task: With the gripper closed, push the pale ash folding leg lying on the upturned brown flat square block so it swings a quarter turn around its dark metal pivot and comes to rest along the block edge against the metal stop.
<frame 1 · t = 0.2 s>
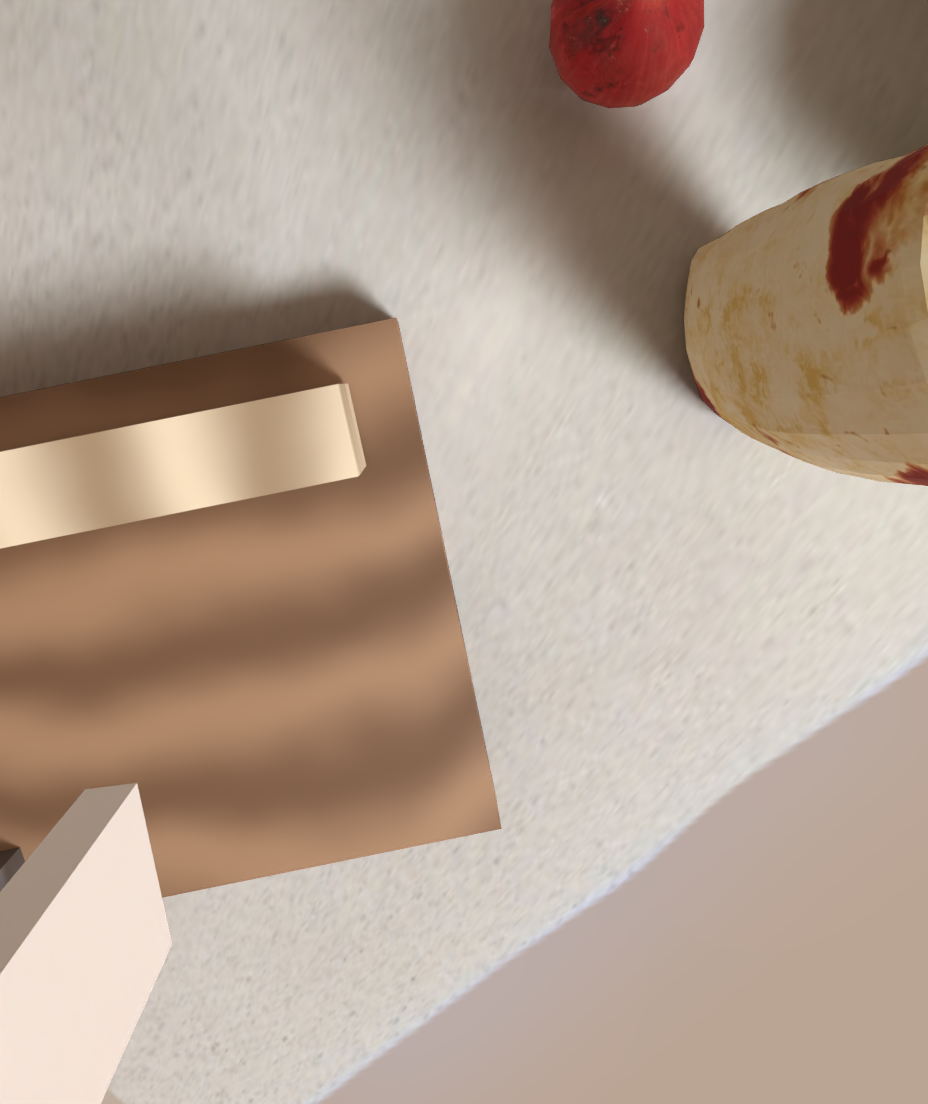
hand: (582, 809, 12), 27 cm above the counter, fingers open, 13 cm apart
brown flat square block: (206, 624, 40), on the counter
onion: (603, 61, 36), on the counter
food model: (731, 346, 38), on the counter
folding leg: (116, 475, 32), point 6 cm above the counter, hinge at 90.0°
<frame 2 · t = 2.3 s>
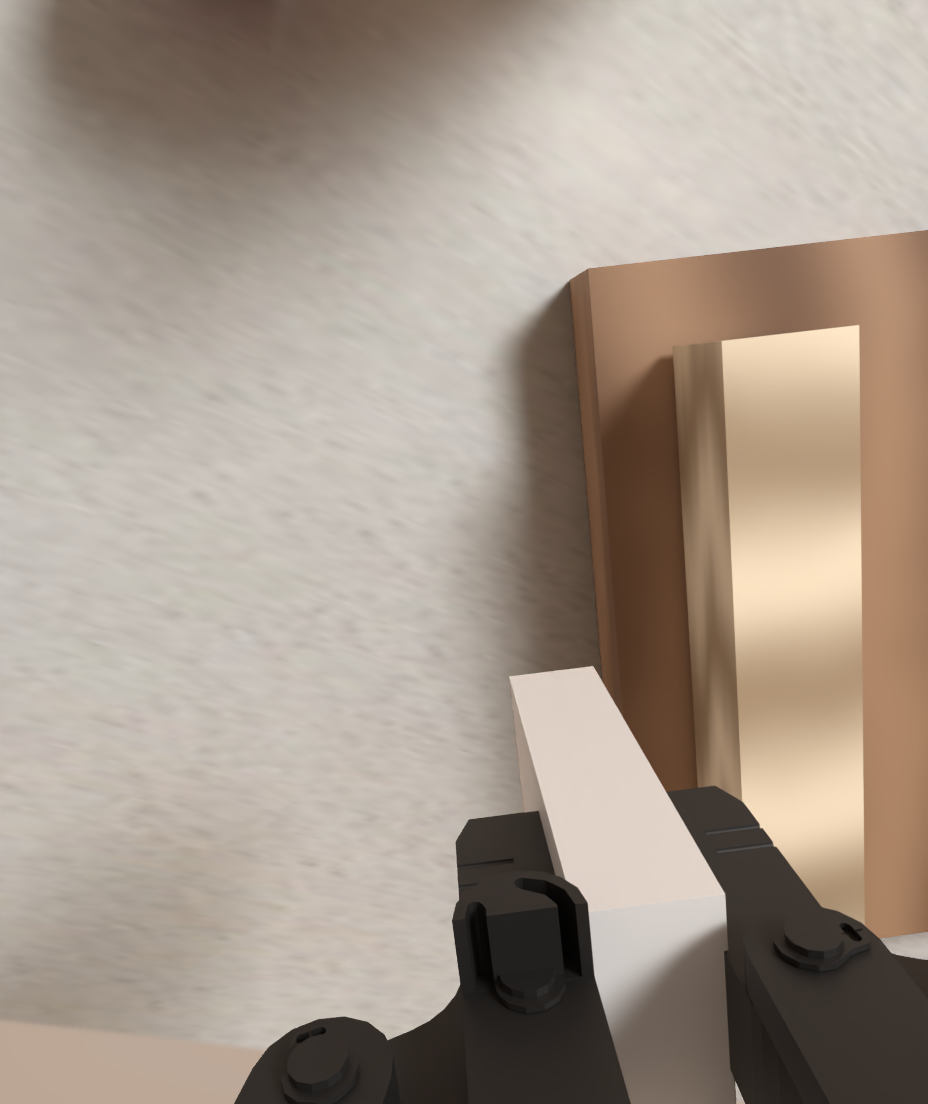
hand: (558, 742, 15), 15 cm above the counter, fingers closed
brown flat square block: (922, 585, 30), on the counter
folding leg: (774, 667, 24), point 6 cm above the counter, hinge at 90.0°
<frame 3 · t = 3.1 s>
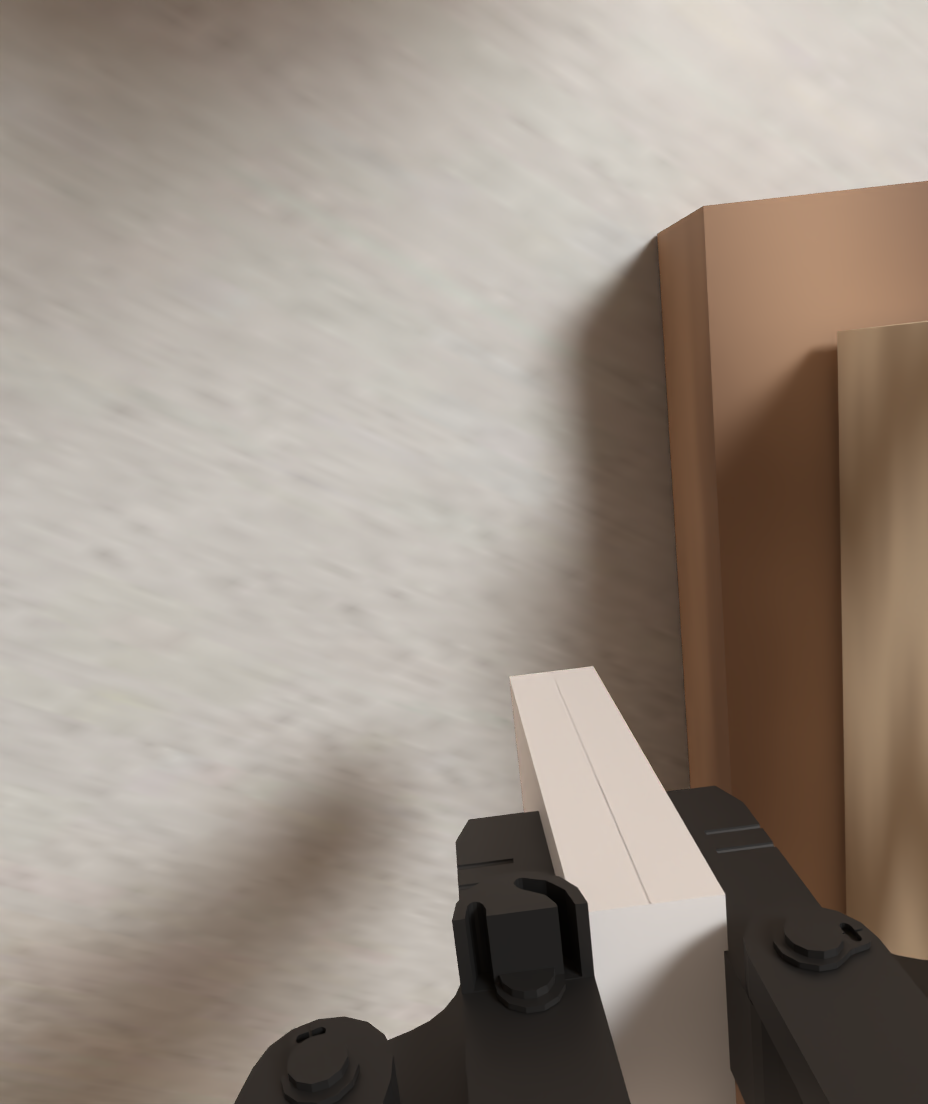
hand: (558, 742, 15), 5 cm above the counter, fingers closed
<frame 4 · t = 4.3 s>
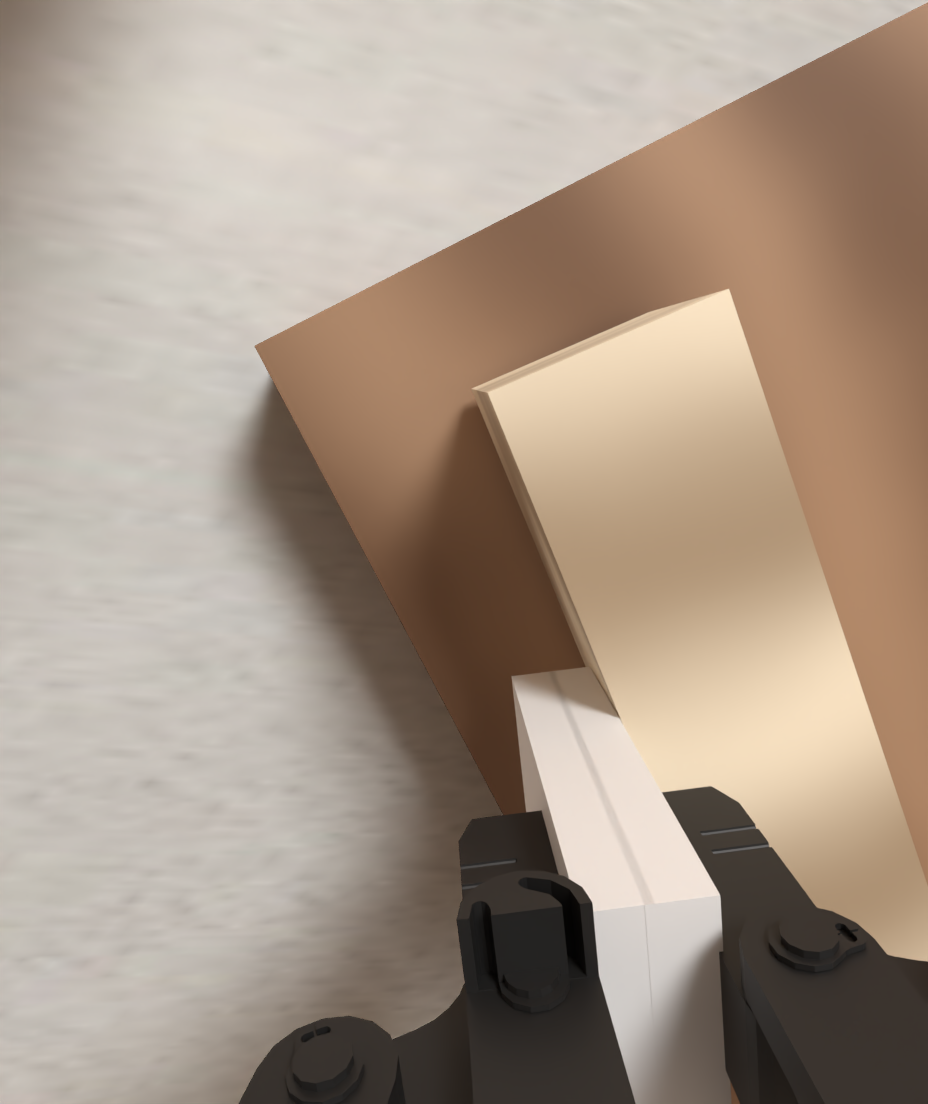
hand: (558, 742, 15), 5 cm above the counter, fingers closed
folding leg: (774, 851, 15), point 6 cm above the counter, hinge at 86.8°, touching gripper
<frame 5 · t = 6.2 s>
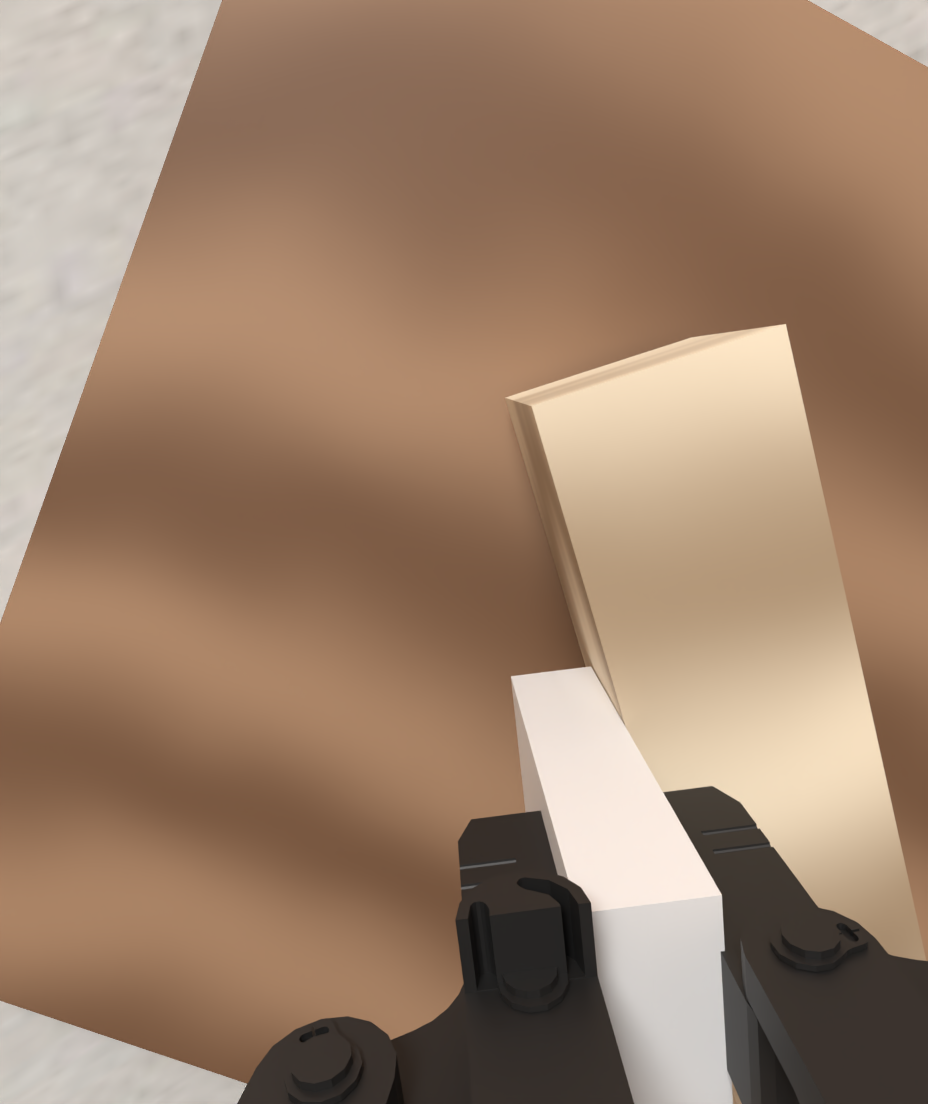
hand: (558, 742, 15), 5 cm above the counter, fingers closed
brown flat square block: (615, 632, 19), on the counter
folding leg: (768, 892, 14), point 6 cm above the counter, hinge at 42.0°, touching gripper
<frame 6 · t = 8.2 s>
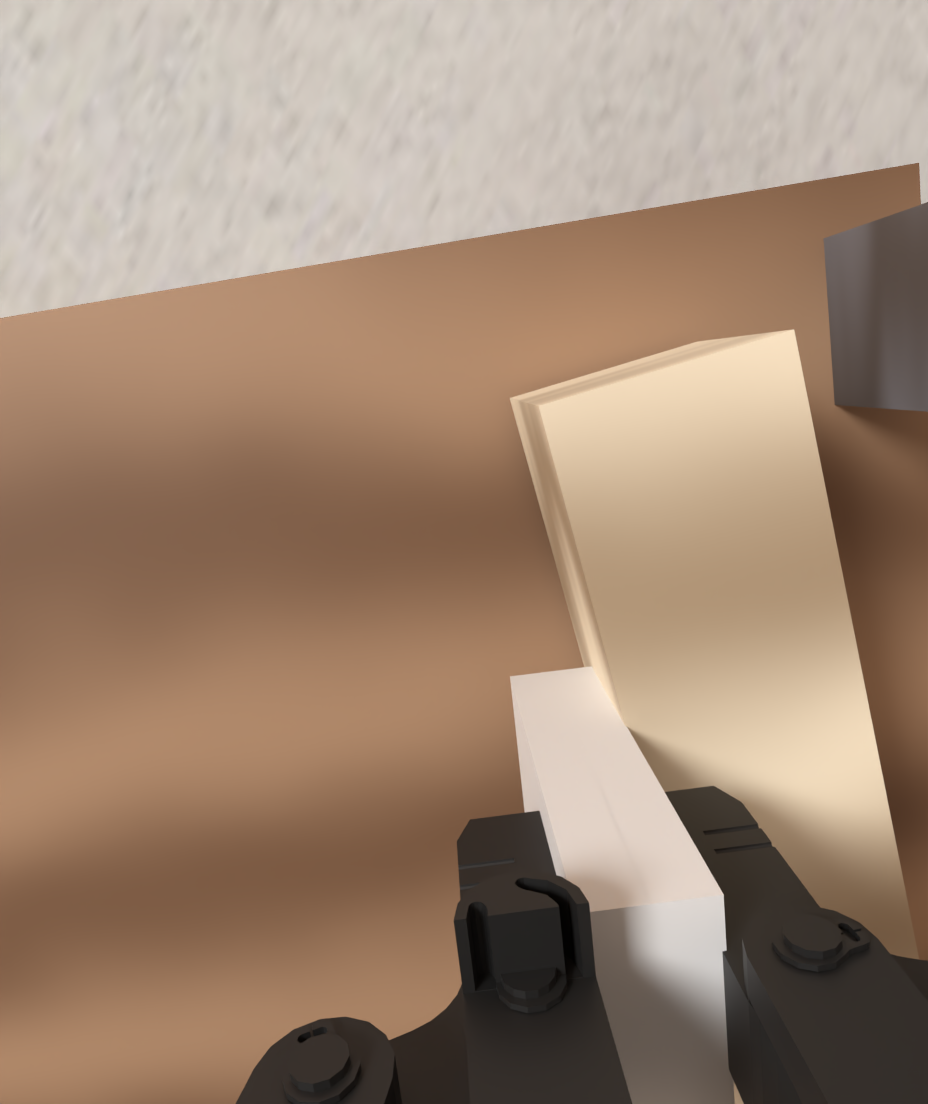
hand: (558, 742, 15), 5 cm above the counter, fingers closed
brown flat square block: (386, 798, 20), on the counter
folding leg: (763, 898, 14), point 6 cm above the counter, hinge at 7.0°, touching gripper
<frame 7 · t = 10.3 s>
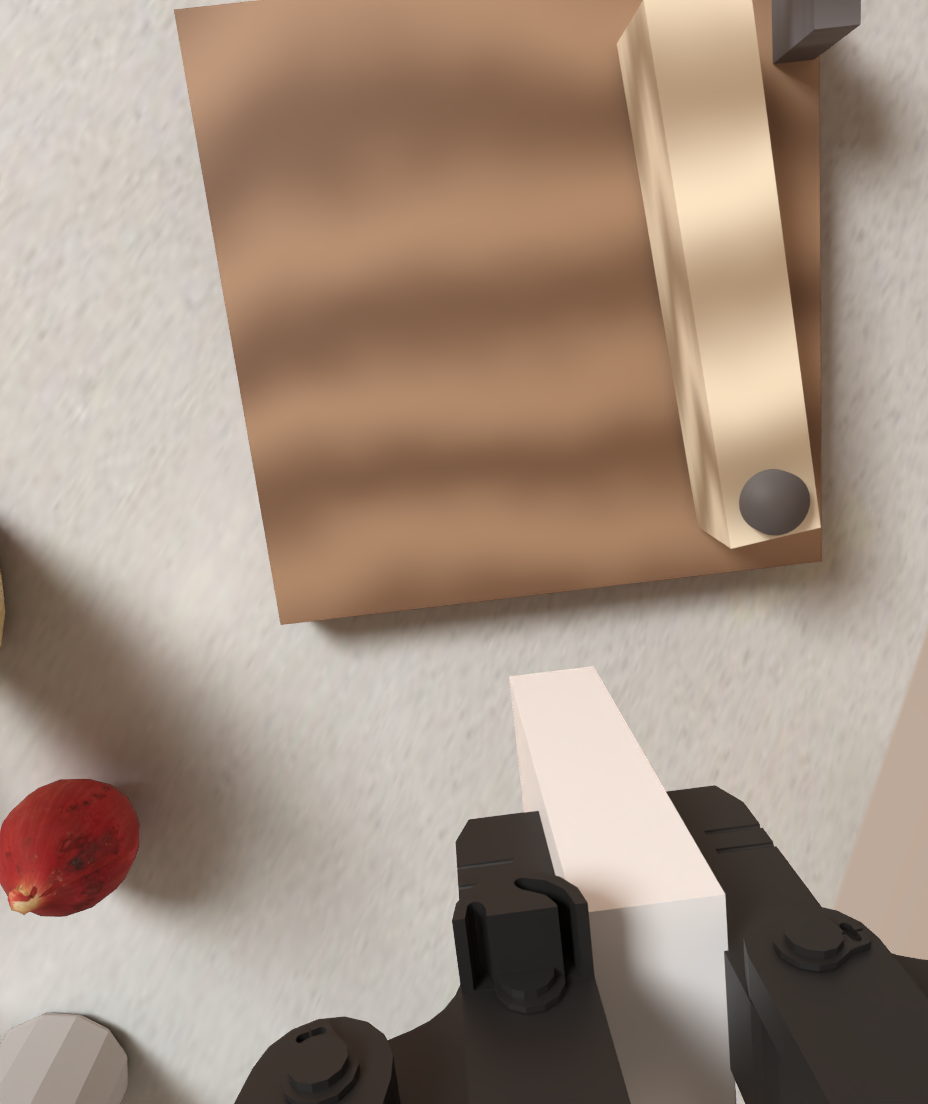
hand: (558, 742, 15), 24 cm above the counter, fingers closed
brown flat square block: (519, 313, 36), on the counter
onion: (103, 799, 41), on the counter
water bottle: (52, 1058, 45), on the counter
folding leg: (722, 287, 31), point 6 cm above the counter, hinge at 6.9°
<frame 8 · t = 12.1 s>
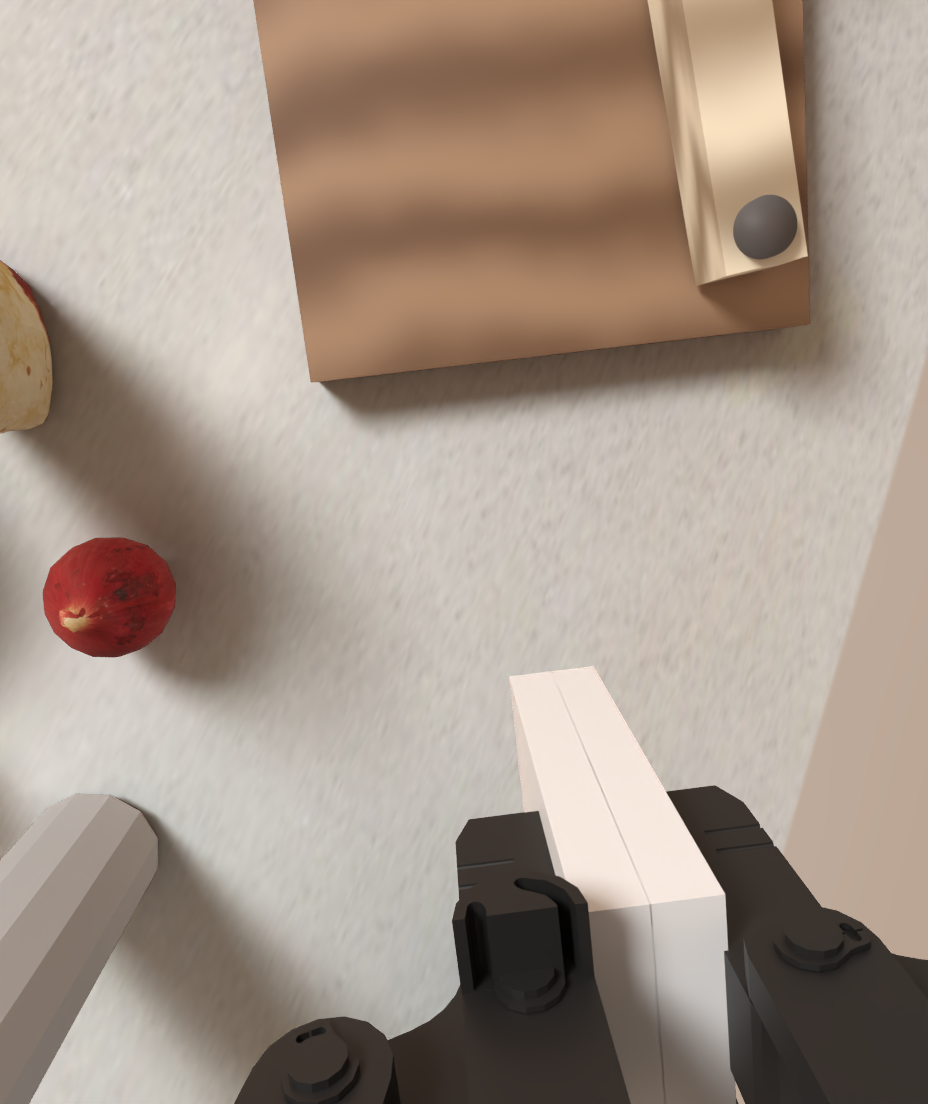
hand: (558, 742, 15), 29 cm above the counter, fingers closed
brown flat square block: (530, 99, 39), on the counter
onion: (139, 577, 44), on the counter
water bottle: (85, 844, 47), on the counter
food model: (7, 335, 41), on the counter
folding leg: (715, 36, 34), point 6 cm above the counter, hinge at 6.9°
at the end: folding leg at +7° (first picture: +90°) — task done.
